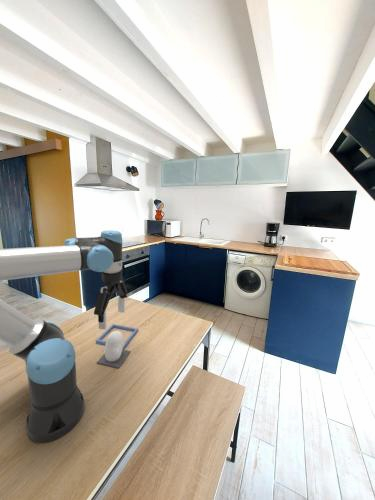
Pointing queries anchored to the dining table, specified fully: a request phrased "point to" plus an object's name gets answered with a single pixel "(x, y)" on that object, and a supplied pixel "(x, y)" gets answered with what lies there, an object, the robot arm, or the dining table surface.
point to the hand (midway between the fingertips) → (112, 319)
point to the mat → (114, 363)
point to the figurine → (114, 346)
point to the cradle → (135, 330)
